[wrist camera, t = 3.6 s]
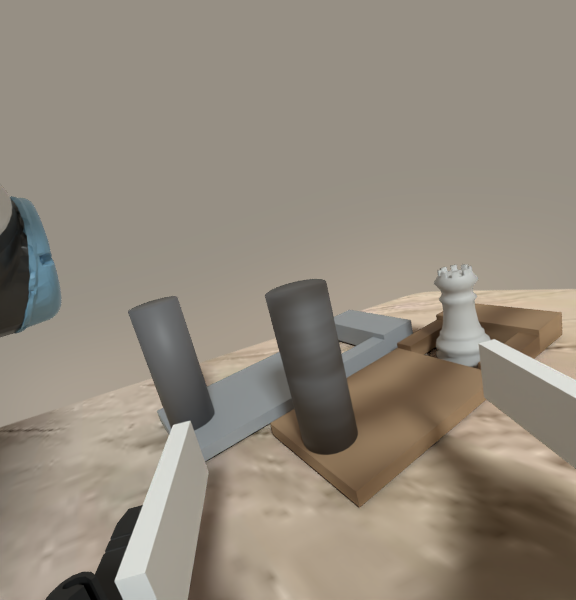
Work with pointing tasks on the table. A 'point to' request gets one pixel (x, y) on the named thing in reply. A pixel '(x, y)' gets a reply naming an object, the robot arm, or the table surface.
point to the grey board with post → (239, 373)
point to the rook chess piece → (459, 317)
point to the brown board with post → (379, 388)
